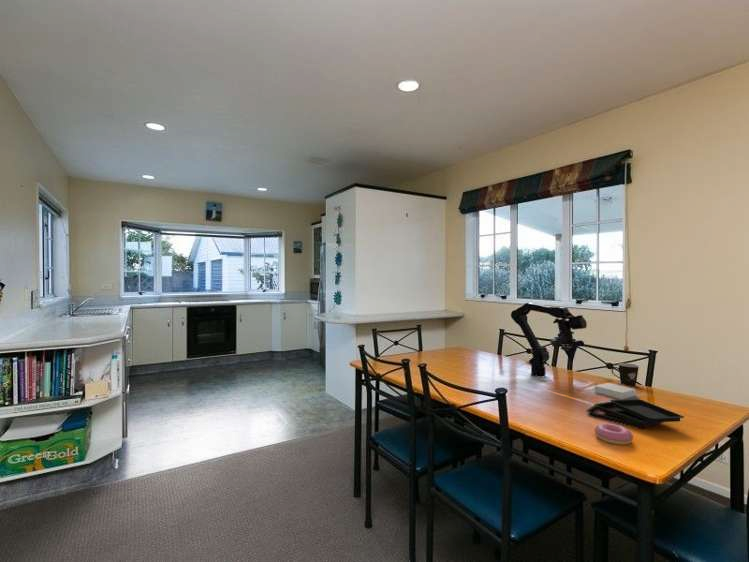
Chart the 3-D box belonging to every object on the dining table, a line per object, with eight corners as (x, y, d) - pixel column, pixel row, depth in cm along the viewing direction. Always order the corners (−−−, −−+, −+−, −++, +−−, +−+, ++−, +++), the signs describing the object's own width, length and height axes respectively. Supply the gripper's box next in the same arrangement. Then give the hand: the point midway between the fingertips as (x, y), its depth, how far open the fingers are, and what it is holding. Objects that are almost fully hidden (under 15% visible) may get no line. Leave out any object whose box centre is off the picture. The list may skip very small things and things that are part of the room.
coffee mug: (637, 384, 193) (638, 364, 193) (639, 388, 185) (639, 367, 185) (611, 380, 199) (611, 361, 199) (611, 384, 192) (611, 364, 191)
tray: (583, 419, 145) (583, 405, 145) (593, 403, 163) (593, 391, 163) (684, 440, 126) (684, 425, 126) (683, 420, 144) (683, 406, 144)
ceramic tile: (594, 385, 175) (622, 392, 164) (608, 382, 180) (635, 389, 170) (594, 392, 175) (622, 399, 164) (608, 388, 180) (635, 396, 170)
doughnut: (592, 441, 125) (593, 428, 125) (596, 430, 134) (596, 418, 134) (632, 450, 119) (632, 437, 119) (633, 438, 128) (633, 425, 128)
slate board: (582, 392, 177) (582, 390, 177) (602, 388, 185) (602, 386, 185) (623, 404, 162) (623, 401, 162) (643, 398, 169) (643, 396, 169)
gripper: (541, 333, 205) (547, 362, 202) (560, 331, 186) (567, 363, 184) (560, 330, 206) (567, 359, 203) (581, 328, 187) (588, 360, 185)
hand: (571, 360), depth 194 cm, fingers closed
